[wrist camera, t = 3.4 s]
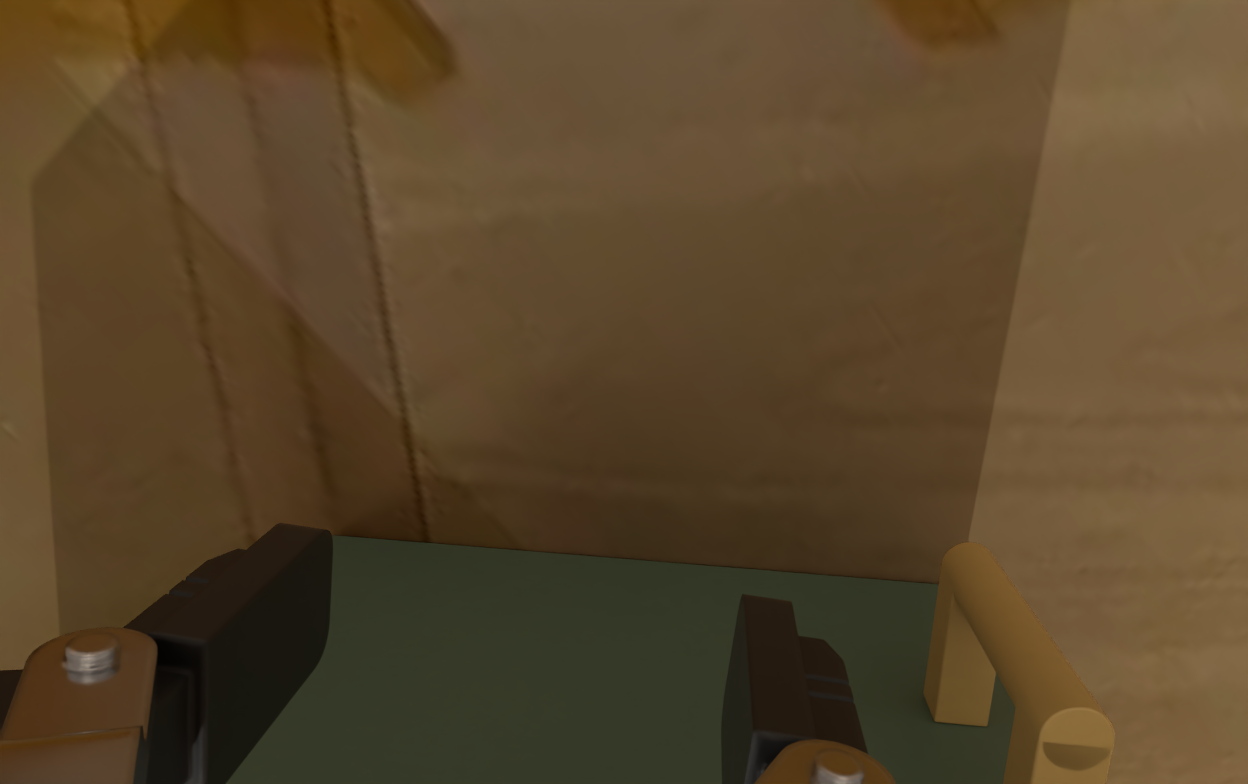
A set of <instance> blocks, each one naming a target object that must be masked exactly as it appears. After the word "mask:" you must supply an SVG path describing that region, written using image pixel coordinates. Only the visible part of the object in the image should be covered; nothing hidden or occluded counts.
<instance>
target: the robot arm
mask: <svg viewBox="0 0 1248 784" xmlns="http://www.w3.org/2000/svg"><path fill="white" fill-rule="evenodd" d="M332 562H333V539H332V535H331V533H330V531H328V530H323V529H316V528H310V527H303V526H297V525H290V524H283V523H279V524H277V525H276V526H274V527H273V528H272V529H271V530H270V531H268V532H267V533H266V534H265V535H264V536H262V537H261V538H260V539H259V540H258V541H257V542H255V543H254V544H253V545H252V546H251V547H249V548H248V549H247V550H243V549H236V550H234V551H231V552H228V553H226V554H223V555H221V556H218V557H216V558H213V559H211V560H208V561H206V562H205V563H204V564H202V565H201V566H200V567H199V568H197V569H196V570H195V571H194V572H192V573H191V574H190V575H189V576H187V577H186V581H183V580H182V581H181V582H180V583H179V584H177V585H176V586H175V587H174V588H172V589H171V590H170V592H169V595H168V594H165V595H164V596H162V597H161V598H160V599H159V600H157V601H156V602H155V603H154V604H152V605H151V606H150V607H149V608H147V609H146V610H145V611H144V612H142V613H141V614H140V615H139V616H137V617H136V618H135V619H134V620H132V621H131V622H130V623H129V624H127V625H126V626H125V627H124V628H115V627H106V628H93V629H86V630H80V631H76V632H72V633H68V634H65V635H62V636H60V637H57V638H55V639H52V640H50V641H48V642H46V643H45V644H43V645H41V646H40V647H38V648H37V649H36V650H35V651H33V652H32V654H31V655H30V656H29V657H28V659H27V661H26V663H25V666H24V669H23V670H3V671H0V784H226V783H227V781H228V780H229V779H230V778H231V776H232V775H233V774H234V772H235V771H236V770H237V768H238V767H239V766H240V765H241V763H242V762H243V761H244V759H245V758H246V757H247V756H248V754H249V753H250V752H251V750H252V749H253V748H254V747H255V745H256V744H257V743H258V741H259V740H260V739H261V738H262V736H263V735H264V734H265V732H266V731H267V730H268V729H269V727H270V726H271V725H272V723H273V722H274V721H275V720H276V718H277V717H278V716H279V714H280V713H281V712H282V711H283V709H284V708H285V707H286V705H287V704H288V703H289V701H290V700H291V699H292V698H293V696H294V695H295V694H296V692H297V691H298V690H299V689H300V687H301V686H302V685H303V683H304V682H305V681H306V680H307V678H308V677H309V676H310V674H311V673H312V672H313V671H314V669H315V668H316V666H317V665H318V663H319V661H320V659H321V657H322V655H323V652H324V649H325V646H326V642H327V638H328V633H329V624H330V604H331V583H332ZM853 700H854V698H853V694H852V691H851V687H850V686H849V679H848V675H847V671H846V668H845V664H844V660H843V659H842V658H841V657H840V656H839V655H838V654H837V653H836V652H835V651H834V649H833V648H832V647H831V646H830V645H829V644H828V643H827V642H826V641H825V640H824V639H817V638H811V637H804V636H798V632H797V627H796V621H795V615H794V610H793V605H792V602H791V601H786V600H780V599H773V598H767V597H760V596H753V595H747V594H742V596H741V599H740V604H739V609H738V614H737V620H736V626H735V632H734V638H733V644H732V650H731V656H730V662H729V668H728V674H727V680H726V686H725V693H724V701H723V710H722V722H721V762H722V784H896V782H895V780H894V778H893V776H892V775H891V774H890V772H889V771H888V770H887V769H886V768H885V767H884V766H883V765H882V764H881V763H879V762H878V761H877V760H876V759H874V758H873V757H871V756H870V755H868V752H867V748H866V744H865V740H864V736H863V733H862V729H861V725H860V721H859V717H858V713H857V710H856V706H855V703H853Z"/></svg>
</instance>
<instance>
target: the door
mask: <svg viewBox="0 0 1248 784" xmlns="http://www.w3.org/2000/svg"><path fill="white" fill-rule="evenodd" d="M332 539H333V562H332V583H331V604H330V624H329V633H328V638H327V642H326V646H325V649H324V652H323V655H322V657H321V659H320V661H319V663H318V665H317V666H316V668H315V669H314V671H313V672H312V673H311V674H310V676H309V677H308V678H307V680H306V681H305V682H304V683H303V685H302V686H301V687H300V689H299V690H298V691H297V692H296V694H295V695H294V696H293V698H292V699H291V700H290V701H289V703H288V704H287V705H286V707H285V708H284V709H283V711H282V712H281V713H280V714H279V716H278V717H277V718H276V720H275V721H274V722H273V723H272V725H271V726H270V727H269V729H268V730H267V731H266V732H265V734H264V735H263V736H262V738H261V739H260V740H259V741H258V743H257V744H256V745H255V747H254V748H253V749H252V750H251V752H250V753H249V754H248V756H247V757H246V758H245V759H244V761H243V762H242V763H241V765H240V766H239V767H238V768H237V770H236V771H235V772H234V774H233V775H232V776H231V778H230V779H229V780H228V781H227V783H226V784H722V762H721V722H722V710H723V701H724V693H725V686H726V680H727V674H728V668H729V662H730V656H731V650H732V644H733V638H734V632H735V626H736V620H737V614H738V609H739V604H740V599H741V596H742V594H747V595H753V596H760V597H767V598H773V599H780V600H786V601H791V602H792V605H793V610H794V615H795V621H796V627H797V632H798V636H804V637H811V638H817V639H824V640H825V641H826V642H827V643H828V644H829V645H830V646H831V647H832V648H833V649H834V651H835V652H836V653H837V654H838V655H839V656H840V657H841V658H842V659H843V660H844V664H845V668H846V671H847V675H848V679H849V686H850V687H851V691H852V694H853V698H854V700H853V703H855V706H856V710H857V713H858V717H859V721H860V725H861V729H862V733H863V736H864V740H865V744H866V748H867V752H868V755H870V756H871V757H873V758H874V759H876V760H877V761H878V762H879V763H881V764H882V765H883V766H884V767H885V768H886V769H887V770H888V771H889V772H890V774H891V775H892V776H893V778H894V780H895V782H896V784H1106V781H1107V776H1108V771H1109V766H1110V761H1111V756H1112V751H1113V748H1114V744H1115V731H1114V728H1113V725H1112V724H1111V722H1110V720H1109V719H1108V718H1107V716H1106V715H1105V713H1104V712H1103V710H1102V709H1101V708H1100V706H1099V705H1098V703H1097V702H1096V701H1095V699H1094V698H1093V696H1092V695H1091V694H1090V692H1089V691H1088V689H1087V688H1086V686H1085V685H1084V684H1083V682H1082V681H1081V679H1080V678H1079V677H1078V675H1077V674H1076V672H1075V671H1074V670H1073V668H1072V667H1071V665H1070V664H1069V662H1068V661H1067V660H1066V658H1065V657H1064V655H1063V654H1062V653H1061V651H1060V650H1059V648H1058V647H1057V645H1056V644H1055V643H1054V641H1053V640H1052V638H1051V637H1050V636H1049V634H1048V633H1047V631H1046V630H1045V629H1044V627H1043V626H1042V624H1041V623H1040V621H1039V620H1038V619H1037V617H1036V616H1035V614H1034V613H1033V612H1032V610H1031V609H1030V607H1029V606H1028V605H1027V603H1026V602H1025V600H1024V599H1023V597H1022V596H1021V595H1020V593H1019V592H1018V590H1017V589H1016V588H1015V586H1014V585H1013V583H1012V582H1011V581H1010V579H1009V578H1008V576H1007V575H1006V573H1005V572H1004V571H1003V569H1002V568H1001V566H1000V565H999V564H998V562H997V561H996V559H995V558H994V556H993V555H992V554H991V552H990V551H989V550H988V549H987V548H986V547H984V546H982V545H980V544H977V543H972V542H966V543H960V544H958V545H956V546H954V547H952V548H951V549H950V550H949V551H948V552H947V553H946V554H945V556H944V558H943V560H942V563H941V571H940V578H939V584H928V583H916V582H903V581H891V580H879V579H866V578H854V577H842V576H829V575H817V574H805V573H792V572H780V571H768V570H755V569H743V568H731V567H718V566H706V565H694V564H682V563H669V562H657V561H645V560H632V559H620V558H608V557H595V556H583V555H571V554H558V553H546V552H534V551H521V550H509V549H497V548H484V547H472V546H460V545H447V544H435V543H423V542H411V541H398V540H386V539H374V538H361V537H349V536H337V535H333V536H332Z"/></svg>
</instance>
